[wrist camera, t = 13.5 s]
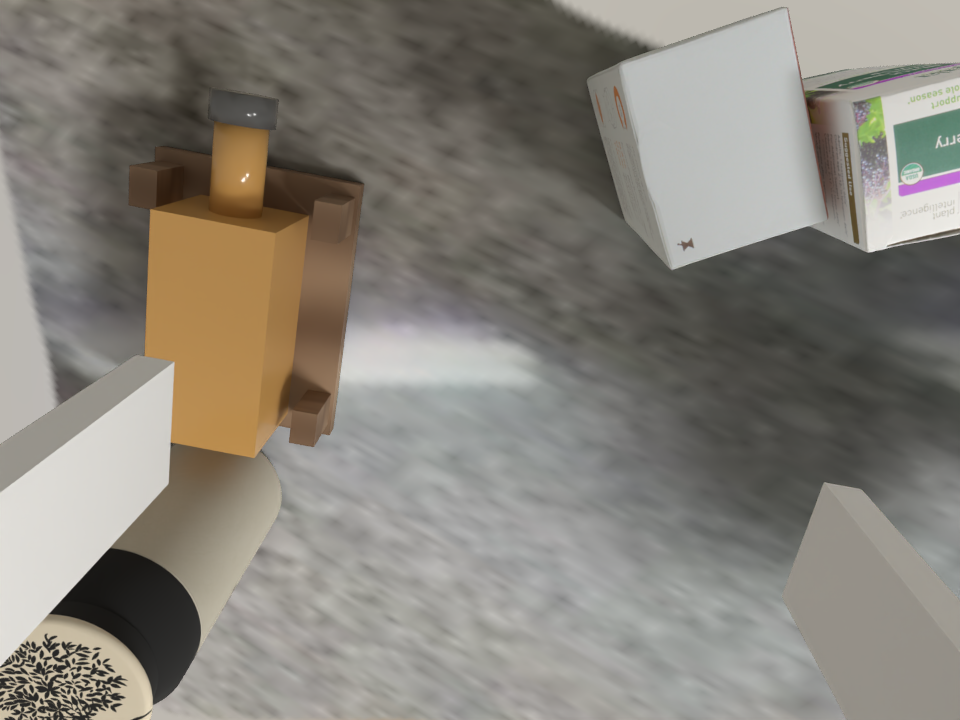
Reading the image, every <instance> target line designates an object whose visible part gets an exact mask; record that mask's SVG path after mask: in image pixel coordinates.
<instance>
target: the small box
mask: <svg viewBox="0 0 960 720" xmlns="http://www.w3.org/2000/svg"><path fill="white" fill-rule="evenodd" d="M587 85H588V89H589V93H590V97H591V101H592V104H593V108H594V112H595V116H596V119H597V123H598V127H599V130H600V134H601V138H602V141H603V145H604V148H605V152H606V156H607V159H608V163H609V166H610V170H611V174H612V177H613V181H614V184H615V188H616V192H617V195H618V199H619V202H620V206H621V209H622V212H623V215H624V218H625V221H626V223H627V224H629V226H630V227H631V228H632V229H633V230H634V231H635V232H636V233H637V234H638V235H639V236H640V237H641V238H642V239H643V240H644V241H645V242H646V244H647V245H648V246H649V247H650V248H651V249H652V250H653V251H654V252H655V253H656V254H657V255H658V257H659V258H660V259H661V260H662V261H663V262H664V263H665V264H666V265H667V266H668V267H669V268H670V269H671V270H674V269H676V268H679V267H682V266H685V265H688V264H691V263H694V262H697V261H700V260H703V259H706V258H709V257H712V256H715V255H718V254H721V253H724V252H728V251H731V250H734V249H737V248H740V247H743V246H746V245H749V244H752V243H756V242H759V241H762V240H765V239H768V238H771V237H774V236H778V235H781V234H784V233H788V232H791V231H794V230H797V229H801V228H804V227H807V226H810V225H813V224H817V223H820V222H823V221H827V220H828V217H829V216H828V210H827V205H826V200H825V195H824V190H823V185H822V179H821V174H820V169H819V164H818V159H817V154H816V149H815V143H814V138H813V133H812V129H811V123H810V117H809V112H808V108H807V103H806V97H805V91H804V86H803V81H802V78H801V72H800V67H799V62H798V57H797V52H796V47H795V42H794V37H793V32H792V26H791V21H790V16H789V11H788V8H787V7H781V8H778V9H775V10H771V11H768V12H765V13H762V14H759V15H756V16H753V17H750V18H746V19H743V20H740V21H737V22H735V23H732V24H729V25H726V26H723V27H720V28H717V29H714V30H711V31H708V32H705V33H702V34H699V35H697V36H693V37H691V38H688V39H685V40H682V41H679V42H676V43H673V44H670V45H667V46H664V47H661V48H658V49H655V50H653V51H650V52H647V53H644V54H641V55H638V56H635V57H632V58H629V59H626V60H624V61H621V62H620V63H618V64H617V65H614V66H612V67H610V68H608V69H606V70H603V71H601V72H598V73H596V74H594V75H592V76H590V77H589V78H588V79H587Z"/></svg>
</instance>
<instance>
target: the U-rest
mask: <svg viewBox="0 0 960 720" xmlns="http://www.w3.org/2000/svg"><path fill="white" fill-rule="evenodd" d="M211 164H212V155H209V154H203V153H198V152H193V151H187V150H182V149H177V148H172V147H166V146H160V147H155V162H149V163H143V164H137V165H130V172H129V206H135V207H140V208H145V209H153V208H156V207H160V206H163V205H167V204H170V203H174V202H177V201H180V200H184V199H187V198H191V197H194V196H198V195H206V196H209V195H210V179H211ZM363 189H364V184H363V183H357V182H352V181H347V180H341V179H336V178H331V177H325V176H320V175H315V174H309V173H304V172H299V171H294V170H288V169H283V168H278V167H272V166H267V165H266V177H265V188H264V199H263V207H268V208H273V209H279V210H284V211H289V212H294V213H299V214H305V215H309V220H308V230H307V239H306V248H305V257H304V266H303V276H302V285H301V294H300V303H299V312H298V322H297V331H296V340H295V349H294V358H293V368H292V377H291V386H290V395H289V404H288V414H287V415H286V416H285V418H284V419H283V420H282V422H281V423H280V424H279V426H282V427H288V428H291V429H290V438H289V443H294V444H300V445H305V446H311V447H314V446H315V444H316V442H317V441H318V439H319V437H320V436H321V434H326V435H330V433H331V431H332V430H333V426H334V418H335V411H336V403H337V395H338V387H339V379H340V371H341V363H342V355H343V347H344V339H345V331H346V323H347V315H348V307H349V300H350V292H351V284H352V276H353V268H354V260H355V252H356V244H357V236H358V228H359V220H360V212H361V204H362V197H363Z"/></svg>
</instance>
